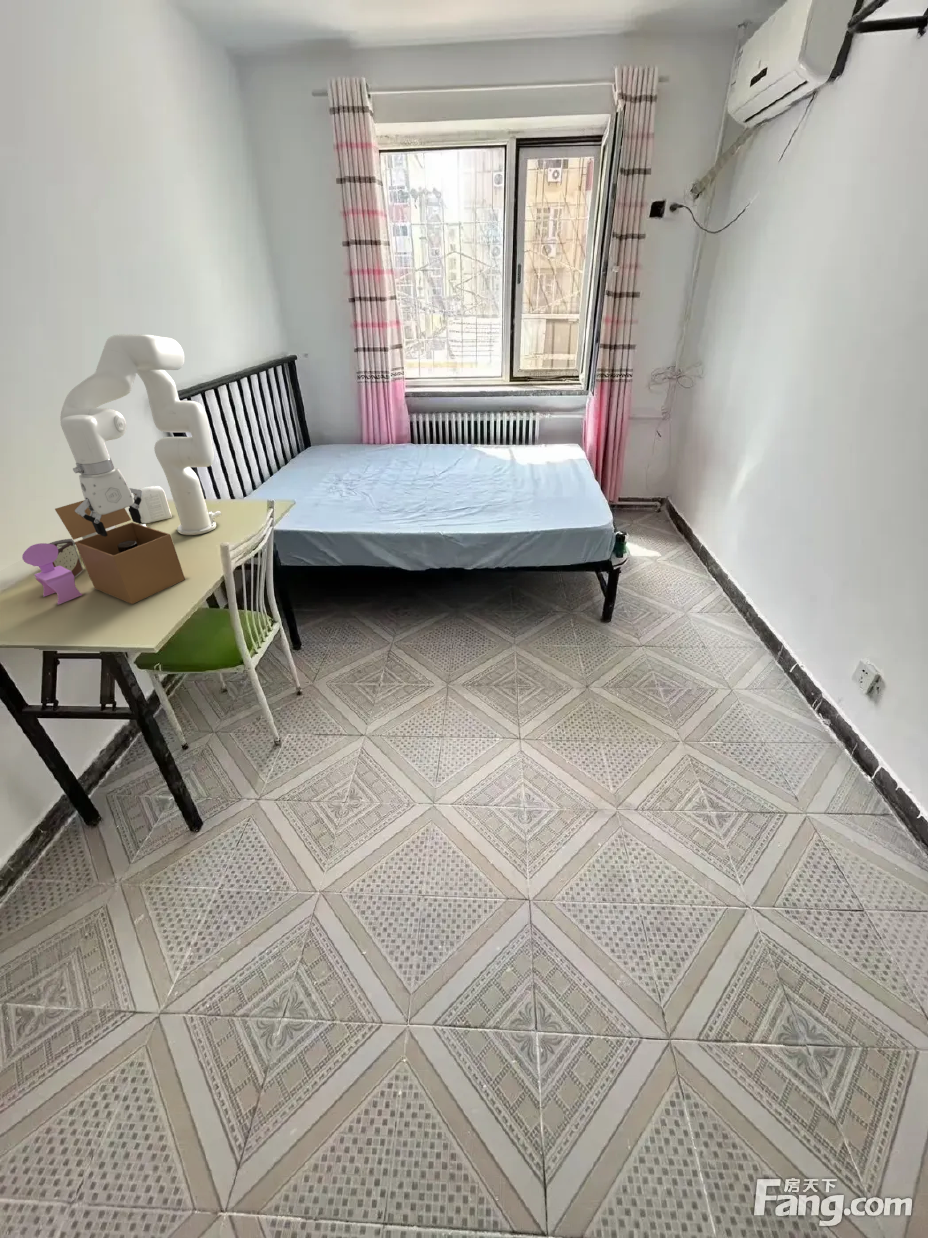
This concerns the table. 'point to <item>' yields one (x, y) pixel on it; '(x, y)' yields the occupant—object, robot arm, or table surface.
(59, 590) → the toy chair
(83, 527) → the carton flap
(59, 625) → the table surface
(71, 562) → the food container
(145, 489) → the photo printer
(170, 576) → the carton
